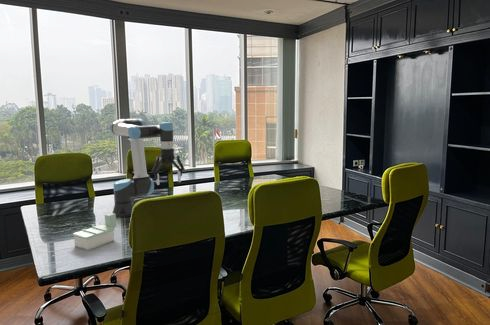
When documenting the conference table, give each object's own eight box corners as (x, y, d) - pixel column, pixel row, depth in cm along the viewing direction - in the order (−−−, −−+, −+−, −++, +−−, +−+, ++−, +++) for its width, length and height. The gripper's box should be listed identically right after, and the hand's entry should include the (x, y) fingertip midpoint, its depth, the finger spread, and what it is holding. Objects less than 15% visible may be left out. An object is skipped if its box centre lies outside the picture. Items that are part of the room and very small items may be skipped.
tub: (75, 246, 193) (74, 235, 192) (101, 237, 206) (101, 227, 205) (87, 250, 187) (86, 239, 186) (114, 241, 200) (113, 230, 199)
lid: (72, 235, 192) (71, 221, 191) (107, 224, 209) (106, 211, 208) (86, 239, 186) (84, 225, 184) (120, 228, 203) (119, 214, 202)
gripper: (148, 150, 210) (150, 186, 213) (189, 147, 223) (190, 181, 227) (144, 149, 216) (146, 184, 219) (184, 146, 230) (185, 179, 233)
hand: (168, 183), depth 223 cm, fingers open, 13 cm apart
